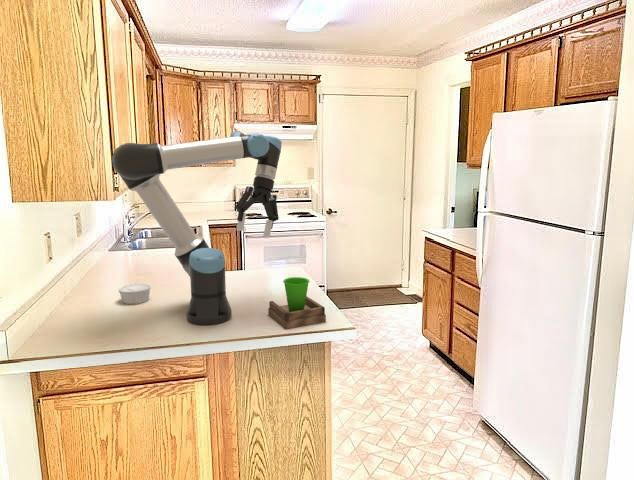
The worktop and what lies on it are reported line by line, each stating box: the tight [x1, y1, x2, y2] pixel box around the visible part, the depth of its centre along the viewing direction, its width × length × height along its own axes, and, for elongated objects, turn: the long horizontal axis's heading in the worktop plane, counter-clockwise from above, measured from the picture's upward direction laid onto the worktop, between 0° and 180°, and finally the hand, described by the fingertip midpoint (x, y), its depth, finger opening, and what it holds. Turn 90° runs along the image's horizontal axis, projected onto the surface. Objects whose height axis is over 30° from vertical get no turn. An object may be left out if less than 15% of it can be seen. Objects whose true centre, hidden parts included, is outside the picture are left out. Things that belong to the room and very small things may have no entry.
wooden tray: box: [267, 295, 327, 330], centre depth 161 cm, size 15×15×5 cm
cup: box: [282, 276, 311, 312], centre depth 161 cm, size 9×9×11 cm
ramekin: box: [118, 283, 151, 305], centre depth 179 cm, size 11×11×5 cm
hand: (253, 234), depth 173 cm, fingers open, 13 cm apart
